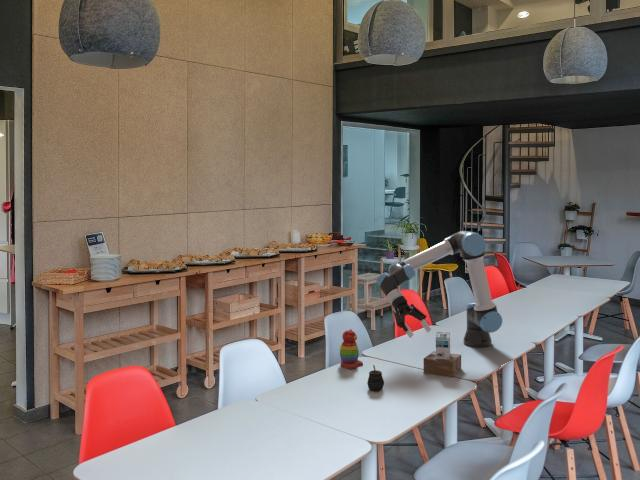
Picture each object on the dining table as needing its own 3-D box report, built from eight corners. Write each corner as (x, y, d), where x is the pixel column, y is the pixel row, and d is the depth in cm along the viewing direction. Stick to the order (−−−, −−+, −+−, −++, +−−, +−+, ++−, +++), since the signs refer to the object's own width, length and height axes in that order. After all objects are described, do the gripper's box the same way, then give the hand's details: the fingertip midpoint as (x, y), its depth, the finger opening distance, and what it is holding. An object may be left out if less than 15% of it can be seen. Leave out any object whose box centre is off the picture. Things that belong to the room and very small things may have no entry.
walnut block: (433, 365, 301) (433, 351, 300) (461, 368, 294) (461, 354, 293) (423, 373, 289) (423, 358, 288) (452, 377, 282) (452, 362, 281)
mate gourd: (370, 393, 263) (370, 370, 262) (364, 387, 270) (364, 365, 269) (386, 391, 265) (385, 368, 264) (380, 386, 272) (379, 364, 271)
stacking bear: (352, 369, 296) (351, 334, 294) (335, 366, 302) (334, 331, 300) (364, 364, 304) (363, 329, 303) (347, 361, 311) (347, 326, 309)
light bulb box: (450, 360, 285) (450, 337, 284) (435, 359, 286) (435, 337, 285) (450, 353, 295) (450, 331, 294) (436, 353, 296) (436, 331, 295)
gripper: (409, 300, 320) (432, 333, 310) (376, 308, 303) (399, 342, 293) (417, 291, 315) (440, 324, 305) (384, 298, 299) (408, 334, 289)
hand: (420, 333), depth 299 cm, fingers open, 13 cm apart
